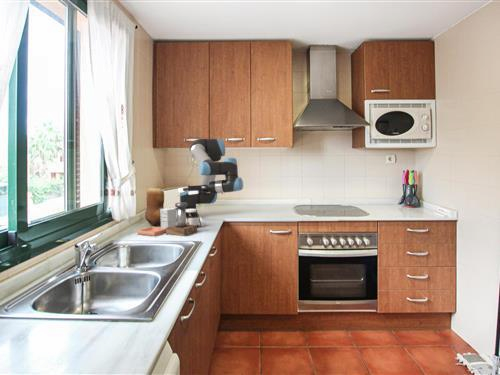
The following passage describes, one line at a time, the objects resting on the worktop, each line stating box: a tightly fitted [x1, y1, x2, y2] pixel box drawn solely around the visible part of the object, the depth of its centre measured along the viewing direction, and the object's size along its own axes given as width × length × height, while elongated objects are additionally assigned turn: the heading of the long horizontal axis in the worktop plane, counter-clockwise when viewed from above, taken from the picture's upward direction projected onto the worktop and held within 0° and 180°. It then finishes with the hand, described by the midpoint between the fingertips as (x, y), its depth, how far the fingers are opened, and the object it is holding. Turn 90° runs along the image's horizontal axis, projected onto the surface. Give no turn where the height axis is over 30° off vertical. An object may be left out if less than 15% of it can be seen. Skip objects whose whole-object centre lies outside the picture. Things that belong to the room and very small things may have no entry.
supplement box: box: [160, 207, 177, 228], centre depth 231 cm, size 7×7×13 cm
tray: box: [137, 226, 166, 237], centre depth 215 cm, size 13×13×2 cm
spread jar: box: [186, 208, 205, 228], centre depth 234 cm, size 12×11×12 cm
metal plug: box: [174, 202, 187, 228], centre depth 215 cm, size 7×7×18 cm
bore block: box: [165, 225, 198, 237], centre depth 216 cm, size 13×13×4 cm
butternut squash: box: [144, 187, 165, 227], centre depth 240 cm, size 14×13×25 cm
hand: (183, 191), depth 217 cm, fingers open, 13 cm apart
